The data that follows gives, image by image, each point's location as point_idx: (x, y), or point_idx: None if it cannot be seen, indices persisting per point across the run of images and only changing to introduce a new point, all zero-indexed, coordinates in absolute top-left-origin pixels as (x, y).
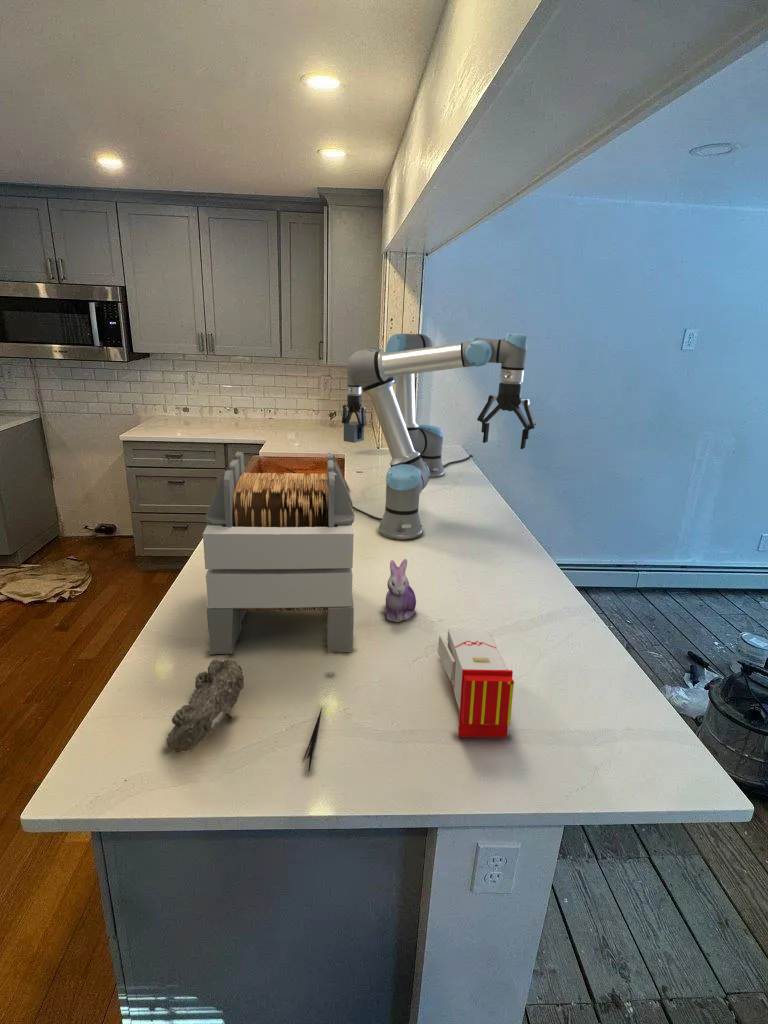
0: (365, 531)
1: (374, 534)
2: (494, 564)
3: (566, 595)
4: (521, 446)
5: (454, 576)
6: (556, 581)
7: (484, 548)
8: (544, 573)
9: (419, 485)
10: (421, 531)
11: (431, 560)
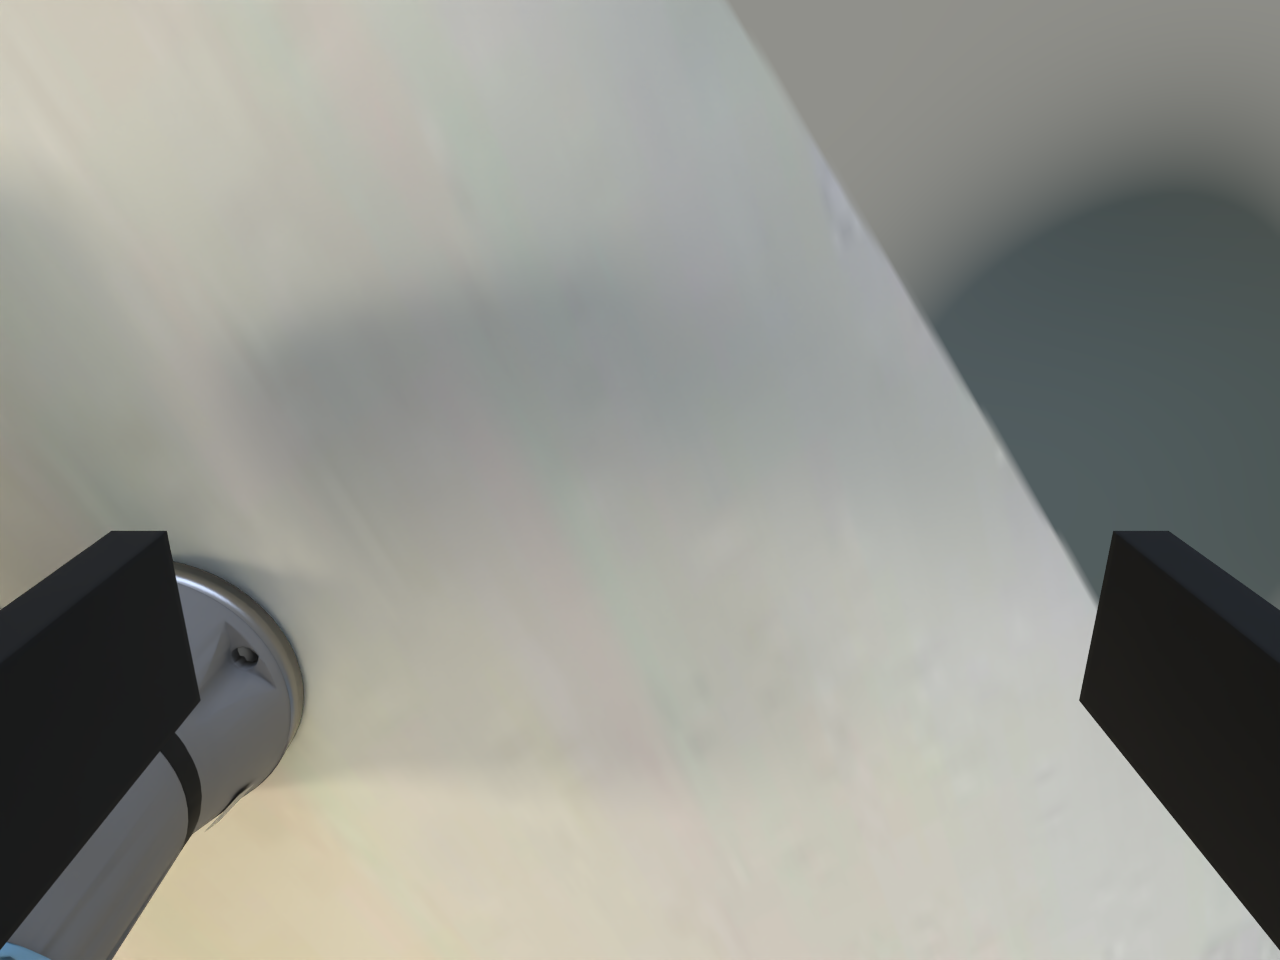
0: None
1: None
2: (823, 754)
3: None
4: (1128, 734)
5: (702, 953)
6: None
7: (700, 600)
8: None
9: (66, 920)
10: (285, 667)
11: (531, 880)
